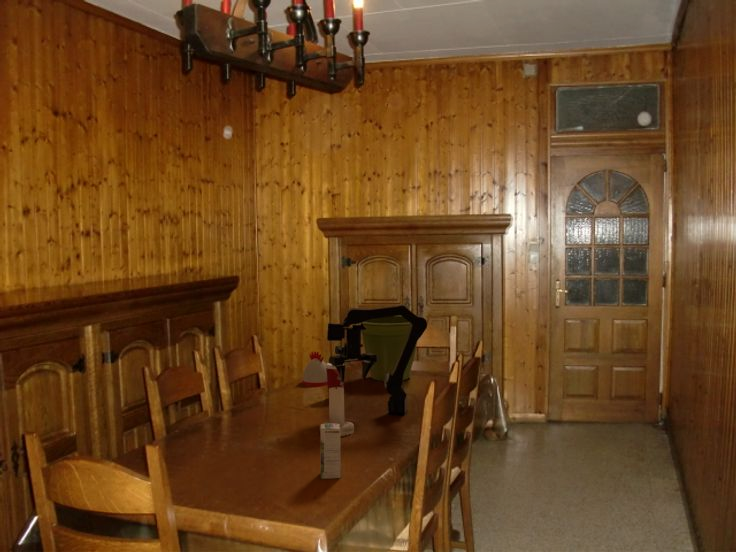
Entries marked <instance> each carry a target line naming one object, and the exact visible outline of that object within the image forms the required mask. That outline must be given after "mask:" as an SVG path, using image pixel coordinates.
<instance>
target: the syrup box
mask: <svg viewBox="0 0 736 552" xmlns="http://www.w3.org/2000/svg"><path fill="white" fill-rule="evenodd" d="M320 425H321V433H320V442H319V445H320V446H319V452H320V453H319V455H320V456H319V457H320V458H319V459H320V460H319V461H320V470H319V471H320V479H321V480H326V479H327V480H329V479H341V473H342V472H341V436H340V424H334V423H328V424H323V423H321V424H320Z"/></svg>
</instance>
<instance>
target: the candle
mask: <svg viewBox="0 0 736 552" xmlns="http://www.w3.org/2000/svg"><path fill="white" fill-rule="evenodd" d="M328 401H329V402H328V404H329V406H328V408H329V409H328V411H329V422H330V423H334V424H340V427H342V426H344V421H345V388H344V387H343V388H342V387H337V386H336V387H332V388H329V397H328Z"/></svg>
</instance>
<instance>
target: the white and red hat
mask: <svg viewBox="0 0 736 552" xmlns="http://www.w3.org/2000/svg"><path fill="white" fill-rule="evenodd" d="M308 355H309V359H310V361H309V362H308V363H307V364H306V366H305V368H304V369H303V370H304V371H303V373H302V378H301V382H302V385H303V386H308V387H324V386H328V385H327V371H326V368H325V367H326V364H327V363H326V362H325V361H324V356H322V354H320V353H319V351H311V353H309V354H308Z"/></svg>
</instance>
